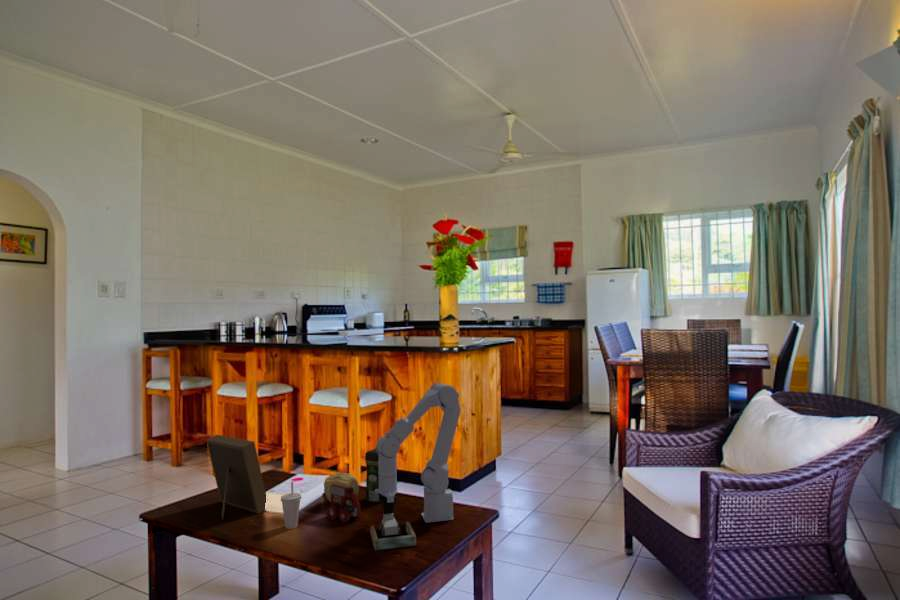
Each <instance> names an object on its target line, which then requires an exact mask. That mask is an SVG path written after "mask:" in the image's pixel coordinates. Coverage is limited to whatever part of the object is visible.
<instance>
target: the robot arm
mask: <svg viewBox="0 0 900 600" xmlns="http://www.w3.org/2000/svg"><path fill="white" fill-rule="evenodd" d="M459 397H460V394H459V392H458V391H457V389H456V387H454V386H453V385H449V384H448V385H447V384H444V383H441V382H434V383H433V384H432V385H430V388H428V389H427V390H426V392H425V393H424V395H423V396H422V397H421V399H420V400H419V401H418V402H417V404H416V405H415V406H414V408H413V409H412V410H411V411H410V412H409V413H408V414H407V416H406V417H402V418H401V417H400V418H399V419H396V420H395V421H394V425H393V426H392V427H391V428H390V429H389V430H388V431H386V432H385V433H384V435H383V436H380V438H379V439H378V440H377V441H376V442H377V443H376V444H375V449H377V451H378V452H379V461H378V466H379V489H375V493H380V495H378V496H379V499H380V501H381V502H380V503H381V506H382V512H383V514H390V513H394V507H395V505H396V502H397V500H398V496H397V492H398V486H397V485H398V484H397V483H398V482H397V478H398V477H397V454H399V452H400V451H399V450H400V446H401V445H402V444H403V443H404V441H405V440H406V439H407V438H408V437H409V436H410V435H411V434H412V433H413V432H414V429H415V428H414V427H415V424H416V423H417V422H418V421H419V420H420V419H421V418H422V416H424V415H425V414H427V412H428V411H429V410H430V409H431V408H434V407H440V409H441V411H442V412H443V415H442V418H441V422H440V426H439V429H438V433H437V437H436V441H435V444H434V448H433V452H432V455H431V459H429V460H428V461H427V463H426V465H425V468H424V469H423V470H422V472H421V474H420V480H421V483H422V484H423V485H424V487H423V512H421V514H420V515H421V517H422V519H423V521H424V522H425V523H435V522H444V521H445V522H446V521H453V520H454V519H455V518H454V496H453V491H452V489H451V488H448V486H449V471H450V470H449V466H448V460H449V457H450V454H451V449H452V445H453V440H454V438H455V435H456V429H457V427H458V423H459V419H460V415H461V406H460V400H459V399H460V398H459Z"/></svg>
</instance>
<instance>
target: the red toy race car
mask: <svg viewBox="0 0 900 600" xmlns="http://www.w3.org/2000/svg"><path fill="white" fill-rule="evenodd" d="M330 493H331V502H330V506H329V507H328V508H327V510H326V513H327V517H328V518H329V520H336V519H337V518H338V519H339V520H340V522H342V523H347V522H349V521H350V519H351V517H353V518H357V517H359V516H360V515H361V511H362V510H361V503H360V501H359V497H358V496H357V494H356V493H354V489H353V487H349V488H348V487H346V486H341V485H336V484H333V485H331V486H330Z"/></svg>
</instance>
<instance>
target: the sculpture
mask: <svg viewBox="0 0 900 600" xmlns="http://www.w3.org/2000/svg"><path fill="white" fill-rule="evenodd" d="M333 484H336V485H341V486H346V487H348V488H349V487H353V489H354V493H356V494H357V497H358V495H359V492H360V491H359V490H360V486H359V482H358V480H357V478H356V477H355V476H354V475H352V474H350V473H346V472H335V473H334V474H332V475H329V476H327V477H326V478H325V480H324V482H323V487H324V489H323V493H324V494H325V495H326V498H327V500H328V501H329V502H330V503H331V493H330V486H331V485H333Z"/></svg>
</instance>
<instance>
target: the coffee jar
mask: <svg viewBox="0 0 900 600" xmlns="http://www.w3.org/2000/svg"><path fill="white" fill-rule="evenodd" d="M378 461H379V452H378V451H377V449H376V448H374V449H371V450H368V451H366V452H365V458H364V462H365V465H366V466H365V467H366V481H365V482H366V485H365V500H366V501H368V502H369V503H372V504H373V503H374V504H375V503H381V501H380V499H379V496H378V495H380V493H375V489H379V466H378Z"/></svg>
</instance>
